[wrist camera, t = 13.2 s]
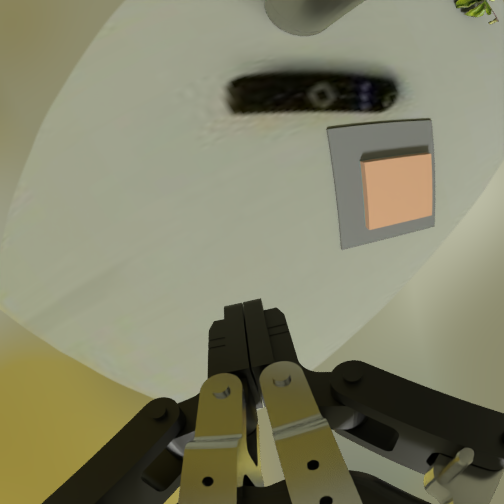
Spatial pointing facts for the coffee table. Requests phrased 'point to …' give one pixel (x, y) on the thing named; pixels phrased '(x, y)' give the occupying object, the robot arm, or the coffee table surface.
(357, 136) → the mat
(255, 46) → the coffee table surface
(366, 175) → the tile
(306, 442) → the robot arm
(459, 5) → the passion flower
